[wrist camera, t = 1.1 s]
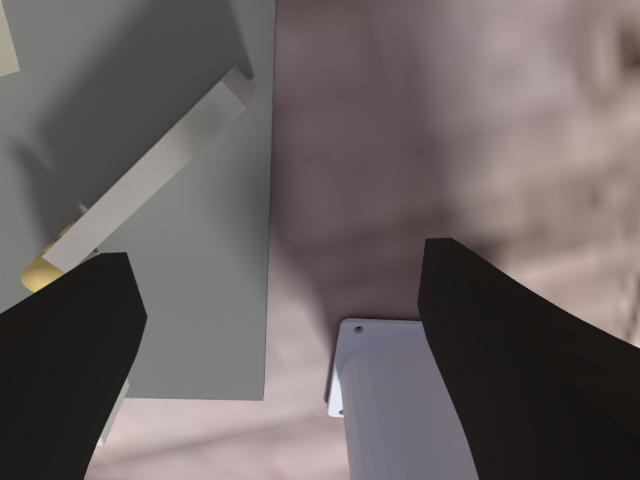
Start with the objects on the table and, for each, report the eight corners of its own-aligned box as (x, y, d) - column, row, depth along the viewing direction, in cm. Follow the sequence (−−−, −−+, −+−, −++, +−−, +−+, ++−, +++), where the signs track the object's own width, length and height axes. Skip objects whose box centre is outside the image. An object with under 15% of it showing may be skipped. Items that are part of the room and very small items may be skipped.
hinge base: (278, -55, 13) (270, -74, 10) (264, 386, 25) (257, 458, 21) (-259, -118, 12) (-519, -171, 8) (-15, 380, 23) (-76, 455, 20)
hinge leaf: (83, 252, 18) (44, 299, 15) (58, 234, 17) (13, 279, 14) (258, 88, 15) (249, 110, 12) (233, 61, 14) (218, 77, 11)
